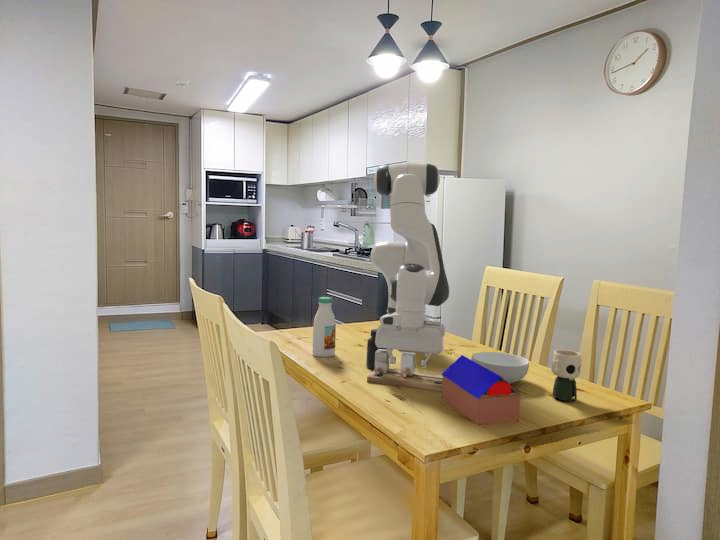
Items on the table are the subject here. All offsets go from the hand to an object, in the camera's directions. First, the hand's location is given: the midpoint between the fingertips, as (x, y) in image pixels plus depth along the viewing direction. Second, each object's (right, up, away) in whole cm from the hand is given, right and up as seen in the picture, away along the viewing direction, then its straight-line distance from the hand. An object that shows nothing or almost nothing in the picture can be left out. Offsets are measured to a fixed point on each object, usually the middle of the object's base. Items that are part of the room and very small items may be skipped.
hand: (408, 365), depth 159 cm
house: (+16, -8, -22) cm, 28 cm away
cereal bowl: (+28, -5, +3) cm, 28 cm away
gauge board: (+2, -5, -2) cm, 5 cm away
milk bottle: (-27, -1, +26) cm, 37 cm away
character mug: (+42, -7, -12) cm, 44 cm away
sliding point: (-1, -3, -1) cm, 3 cm away
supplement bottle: (-9, -3, +13) cm, 16 cm away
